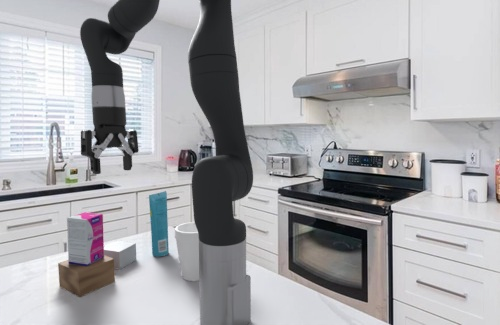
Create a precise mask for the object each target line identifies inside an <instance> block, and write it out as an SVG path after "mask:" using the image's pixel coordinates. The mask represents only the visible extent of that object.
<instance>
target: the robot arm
mask: <svg viewBox="0 0 500 325" xmlns="http://www.w3.org/2000/svg"><path fill="white" fill-rule="evenodd" d="M160 1H161V0H117V1H116V2H114V4H113V5H112V6H111V7H110V8H109V10H108V12H107V20H108V21H105V20H102V19H99V18H96V17H95V18H94V17H88V18H86V19H85V20H84V21H83V22H82V24H81V26H80V30H79V35H80V36H79V37H80V41H81V45H82V47H83V50H84V53H85V55H86V60H87V62H88V65H89V68H90V76H91V111H92V123H93V127H94V128H93V130H91V129H82V130H81V131H80V154H81V156H83V157H87V158H89V165H90V167H89V168H90V171H91V173H92V174H94V175H101V172H102V170H101V169H102V168H101V158H100V156H101V155H102V153H103V152H104V151H105V150H106V149H111V148H117V149H118V150H120V152H121V153H122V154H123V155H122V166H123V171H131V170H132V168H133V155H134V154H136V153H139V151H140V150H139V141H138V132H137V130H135V129H129V130H126V125H127V111H126V110H127V109H126V108H127V107H126V96H125V91H124V90H125V89H124V76H123V75H124V74H123V73H124V72H123V68H122V66H121V65H120V64H119V63H117V62H115V61H113V60H111V59H110V58H109V57H108V55H107V54H111V55H120V54H123V53H125V52H126V51H128V48H129V47H130V44H131V43H132V41H133V39H134V37H136V34H137V33H139V32H140V30H142V29H143V28H144V27H145V26H147V25H148V24H150V22H151V21H152V20H153V19H154V18H155V16H156V14H157V12H158V10H159V7H160V6H159V5H160ZM199 11H200V13H199V20H198V23H197V25H196V26H197V27H196V29H195V30H194V32H193V36H192V38H191V41H190V43H189V46H188V49H187V50H188V51H187V62H188V71H189V82H190V86H191V90H192V93H193V96H194V97H195V100H196V102H197V104H198V106H199V107H200V109H201V111H202V112H203V114H204V116H205V118H206V120H207V121H208V123H209V126H210V128H211V131H212V134H213V140H214V146H215V155H213V156H207V157H203V158H201V159H200V160H199V161H197V163H196V165H195V166H194V169H193V171H192V176H191V196H192V209H193V222H195V225H196V228H197V230H198V235H199V280H198V284H199V285H198V288H199V323H200V324H199V325H248V324H249V323H250V322H251V321H252V320H251V317H252V314H251V312H252V310H251V306H252V305H251V295H252V294H251V293H252V292H251V288H252V287H251V275H249V274H247V226H246V224H245V222H243V220H241V219H239V218H235V216H234V214H235V213H234V204H233V202H236V201H238V200H241V199H244V198H245V197H246V196H248V195H249V193H250V192H251V191H252V188H253V183H254V171H253V165H252V164H253V163H252V161H251V160H252V159H251V156H250V155H251V154H250V151H249V147H248V146H249V145H248V142H247V141H248V140H247V136H246V131H245V124H244V116H243V109H242V108H243V106H242V100H241V92H240V79H239V71H238V70H239V69H238V62H237V60H238V58H237V54H236V53H237V52H236V46H235V38H234V37H235V36H234V24H233V13H232V0H199ZM126 138H127V140H126ZM93 139H95V142H94V144H93Z"/></svg>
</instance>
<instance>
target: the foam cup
mask: <svg viewBox="0 0 500 325" xmlns="http://www.w3.org/2000/svg"><path fill="white" fill-rule="evenodd" d="M174 239H175V242H176V248H177V254H178V261H179V266H180V272H181V277H182V279H183V280H185V281H188V282H189V281H190V282H196V281H199V235H198V230H197V228H196V225H195V221H192V222H191V221H190V222H185V223H180V224H178V225H176V226H175V228H174Z"/></svg>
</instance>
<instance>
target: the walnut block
mask: <svg viewBox="0 0 500 325" xmlns="http://www.w3.org/2000/svg"><path fill="white" fill-rule="evenodd" d="M57 267H58V268H57V269H58V280H59V282H58V283H59V284H58V285H59V288H61V289H63V290H65V291H67V292H68V293H71V294H73V295H75V296H76V297H79V298H81V297H84V296H85V295H88V294H90V293H92V292H95V291H97V290H99V289H101V288H104V287H106V286H108V285H111V284H113V283H115V282H116V274H115V269H114V259H113V258H111V257H108V256H105V255H104V258H102V259H100V260H98V261H96V262H94V263H92V264H90V265H89V266H81V265H73V264H69V260H68V259H66V260H64V261H61V262H57Z"/></svg>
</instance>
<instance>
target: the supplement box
mask: <svg viewBox="0 0 500 325" xmlns="http://www.w3.org/2000/svg"><path fill="white" fill-rule="evenodd" d="M66 225H67V248H68V249H67V252H68V254H67V255H68V257H67V258H68V259H67V260H69V264H73V265H81V266H89V265H90V264H92V263H94V262H96V261H98V260H100V259H102V258H104V246H105V245H104V241H105V240H104V215H103V214H102V213H95V212H87V211H86V212H85V211H84V212H81V213H78V214H75V215H72V216H69V217H67V218H66Z"/></svg>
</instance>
